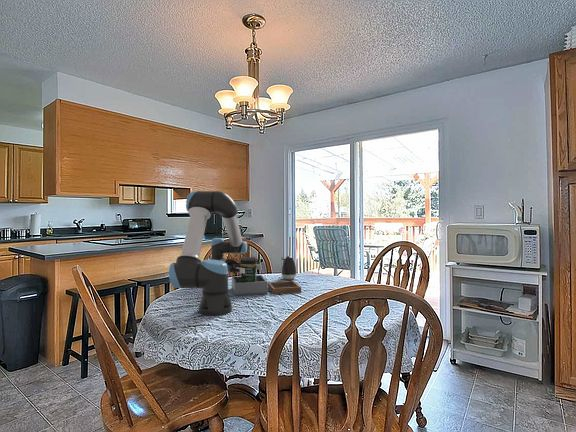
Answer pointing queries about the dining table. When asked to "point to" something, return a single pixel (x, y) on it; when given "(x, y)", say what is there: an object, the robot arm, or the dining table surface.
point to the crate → (249, 286)
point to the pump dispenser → (288, 268)
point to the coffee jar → (248, 269)
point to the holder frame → (294, 289)
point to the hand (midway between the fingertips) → (253, 269)
